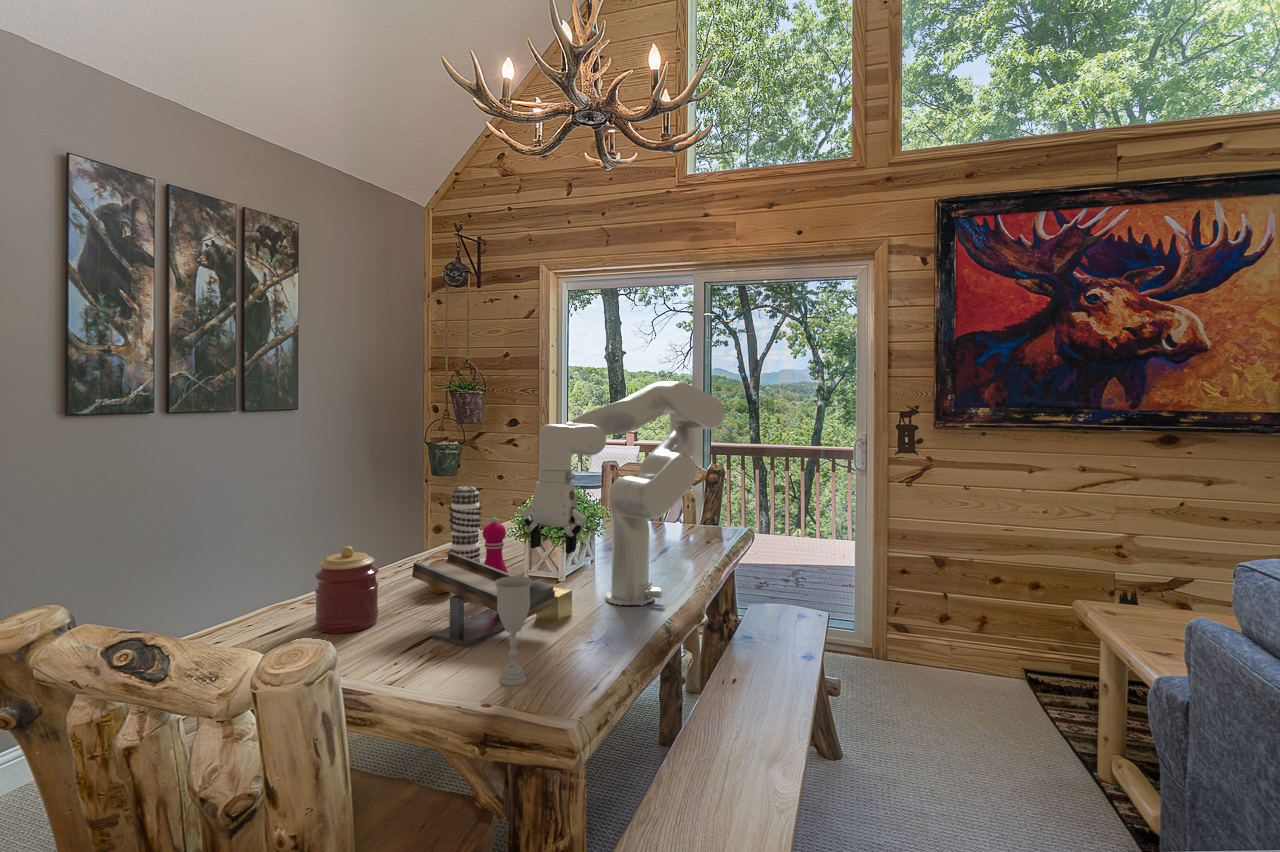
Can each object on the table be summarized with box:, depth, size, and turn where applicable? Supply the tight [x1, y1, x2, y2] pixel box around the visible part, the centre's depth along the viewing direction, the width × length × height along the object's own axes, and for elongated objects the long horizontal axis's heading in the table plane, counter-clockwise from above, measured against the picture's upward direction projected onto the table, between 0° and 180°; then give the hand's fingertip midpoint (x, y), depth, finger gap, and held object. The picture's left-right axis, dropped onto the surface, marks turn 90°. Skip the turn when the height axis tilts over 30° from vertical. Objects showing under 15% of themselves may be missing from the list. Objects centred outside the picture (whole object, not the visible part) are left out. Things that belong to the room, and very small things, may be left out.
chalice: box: [495, 575, 534, 686], centre depth 116 cm, size 7×7×18 cm
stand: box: [431, 594, 505, 648], centre depth 142 cm, size 10×20×9 cm, turn 154°
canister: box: [314, 545, 380, 634], centre depth 143 cm, size 13×13×18 cm
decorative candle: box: [448, 485, 483, 563], centre depth 187 cm, size 9×9×25 cm
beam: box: [411, 551, 555, 619], centre depth 141 cm, size 30×13×6 cm, turn 65°
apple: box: [427, 558, 449, 595], centre depth 167 cm, size 9×9×9 cm
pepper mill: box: [482, 517, 509, 573], centre depth 167 cm, size 7×7×20 cm
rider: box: [535, 586, 573, 623], centre depth 150 cm, size 6×6×6 cm
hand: (552, 549), depth 149 cm, fingers open, 9 cm apart
